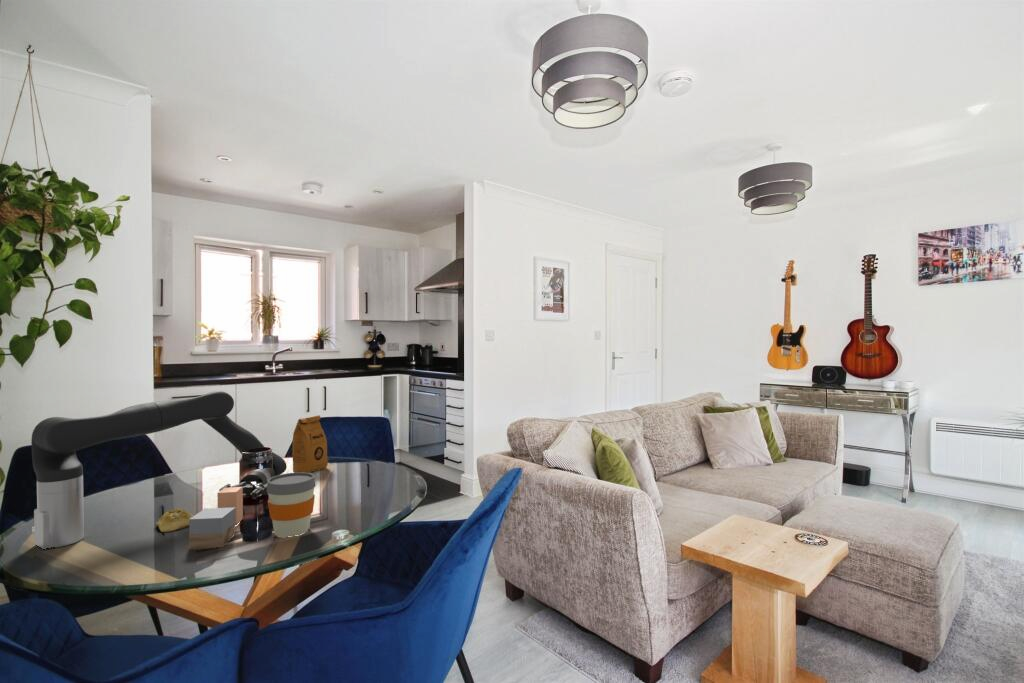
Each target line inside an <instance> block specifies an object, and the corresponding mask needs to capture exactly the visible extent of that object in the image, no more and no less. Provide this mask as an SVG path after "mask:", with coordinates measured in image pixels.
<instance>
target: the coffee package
mask: <svg viewBox="0 0 1024 683" xmlns="http://www.w3.org/2000/svg"><path fill="white" fill-rule="evenodd" d="M321 419H322V418H321V415H320V414H318V415H314V416H310V417H309V416H308V417H305V418H299V419H298V420H297V423H296V425H295V428H294V429H293V430H294V431H293V432H292V434H293V435H292V448H291V449H292V450H291V451H292V473H298V472H304V473H312V472H317V471H320V470H323V469H326V468H327V467H328V441H327V437H326V435H325V432H324V429H323V427H322V425H321V422H320V420H321Z"/></svg>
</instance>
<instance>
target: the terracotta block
mask: <svg viewBox="0 0 1024 683" xmlns="http://www.w3.org/2000/svg"><path fill="white" fill-rule="evenodd" d="M243 496H244V495H243V487H229V488H223V489H222V490H221V491H219V492H217V508H233V507H236V522H235V525H237V524H238V523H239V522H240V521H241V520H242V519H243V520H244V514H243V513H244V505H243V504H244V503H243V502H244V500H243V499H244V498H243Z"/></svg>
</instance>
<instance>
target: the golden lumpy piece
mask: <svg viewBox="0 0 1024 683" xmlns="http://www.w3.org/2000/svg"><path fill="white" fill-rule="evenodd" d="M193 516H195V515H194V514H192V513H190V512H188V511H187V510H185V509H183V508H172V509H169V510H167V511H165V512H164V513H163V515H162V516H161V517H160V518H159V519H158V521H156V523H155V524H156V526H157V527H158V529H159V531H160V532H161V533H171V532H175V531H178V530H181V529H185V528H187V527H189V519H190V518H192V517H193Z"/></svg>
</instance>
